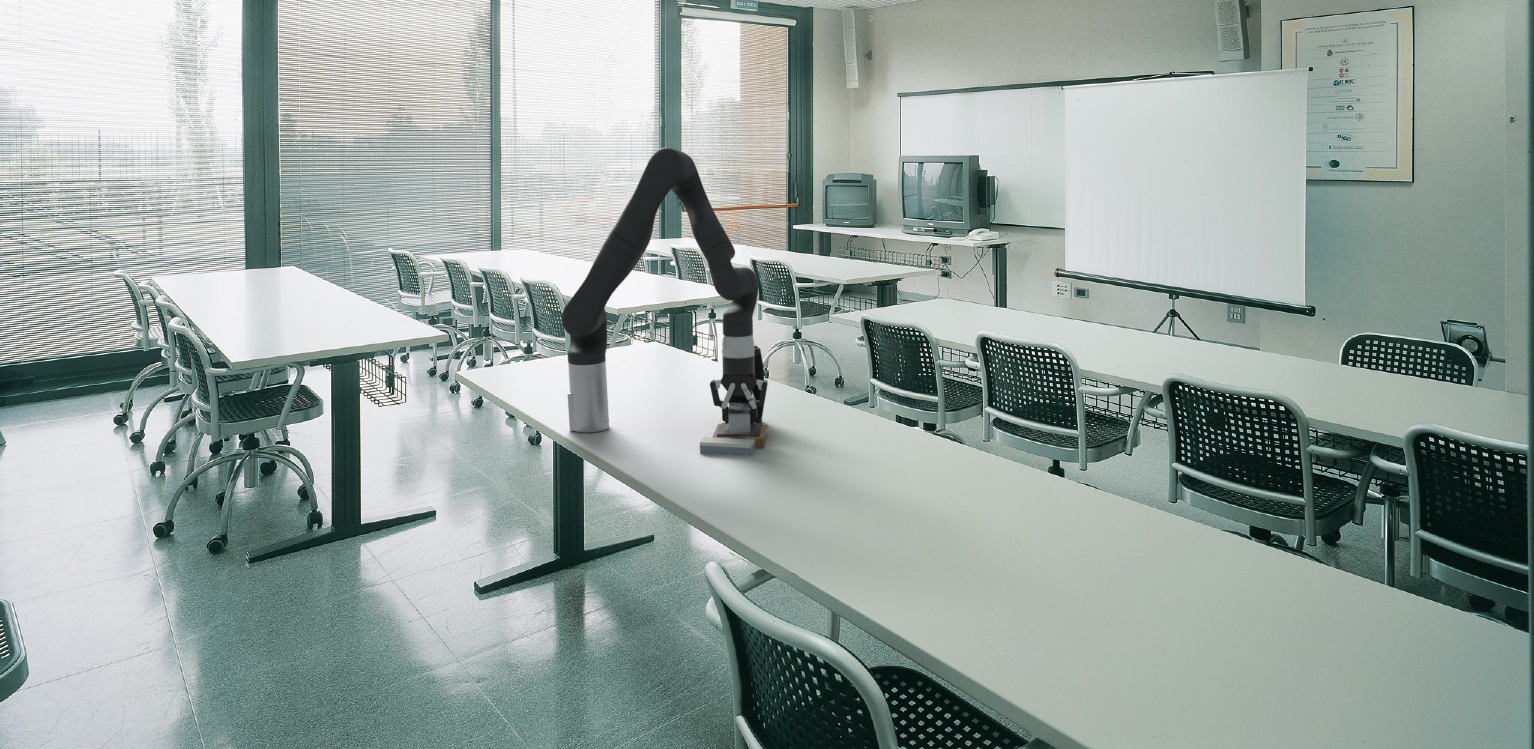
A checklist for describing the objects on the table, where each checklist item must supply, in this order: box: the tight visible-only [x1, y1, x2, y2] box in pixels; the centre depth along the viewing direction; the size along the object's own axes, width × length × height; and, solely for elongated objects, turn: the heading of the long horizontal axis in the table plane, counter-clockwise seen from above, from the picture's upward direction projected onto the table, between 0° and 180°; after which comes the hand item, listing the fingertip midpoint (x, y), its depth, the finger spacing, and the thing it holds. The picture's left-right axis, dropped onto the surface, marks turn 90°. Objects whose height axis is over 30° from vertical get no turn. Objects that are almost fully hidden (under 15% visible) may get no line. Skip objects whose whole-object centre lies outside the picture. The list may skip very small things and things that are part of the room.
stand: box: [711, 422, 768, 449], centre depth 228 cm, size 12×12×3 cm
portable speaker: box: [728, 345, 765, 423], centre depth 242 cm, size 9×9×20 cm
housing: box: [728, 403, 750, 434], centre depth 227 cm, size 10×5×5 cm, turn 1°
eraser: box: [699, 436, 756, 457], centre depth 219 cm, size 12×4×3 cm, turn 78°
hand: (739, 422), depth 227 cm, fingers open, 5 cm apart
